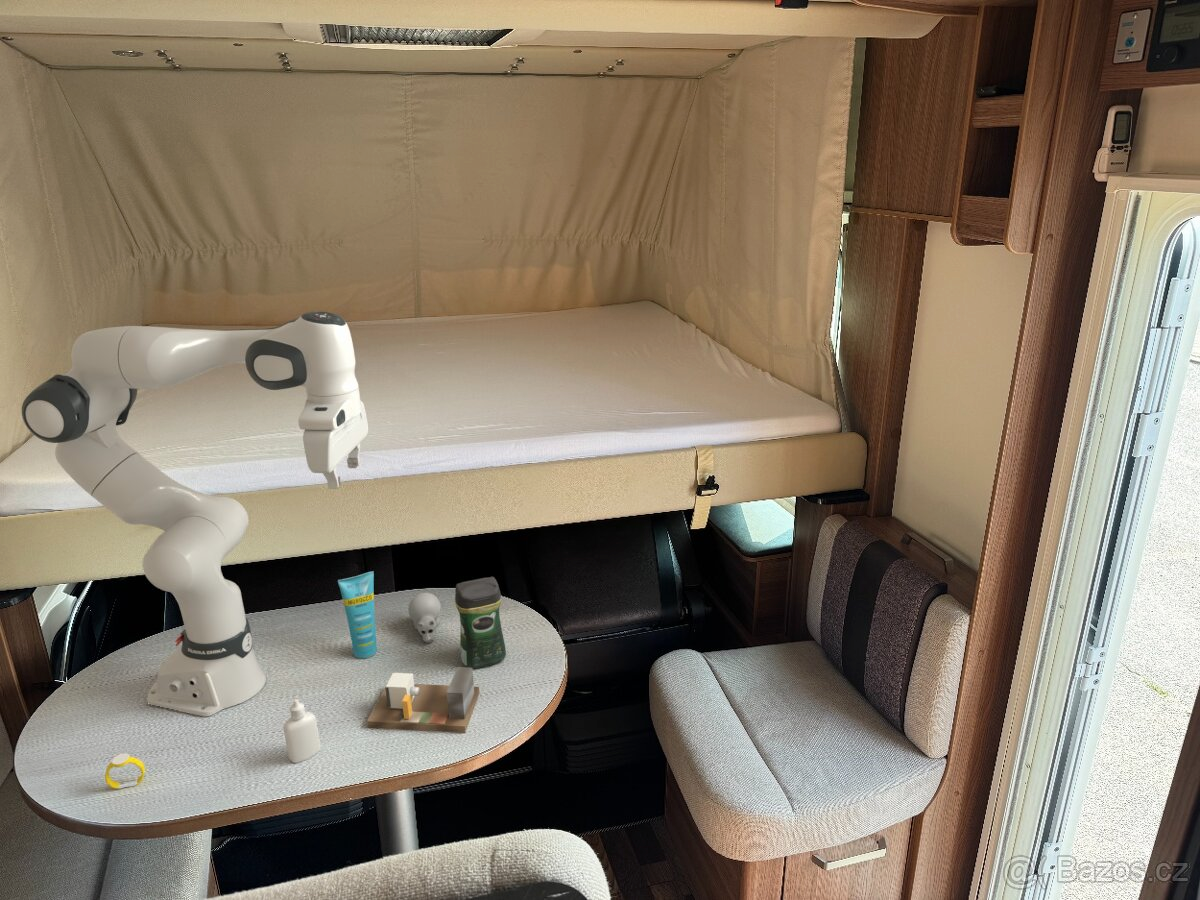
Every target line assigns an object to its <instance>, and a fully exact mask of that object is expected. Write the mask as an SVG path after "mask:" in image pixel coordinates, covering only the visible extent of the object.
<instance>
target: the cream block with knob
mask: <svg viewBox="0 0 1200 900" xmlns="http://www.w3.org/2000/svg"><path fill="white" fill-rule="evenodd" d="M414 679H415V678H414V673H407V672H392V674H391V676H390V678H389V680H388V682H387V683H388V684H387V683H386V685H385V686H386V687H385V686H384V688H385V689H386V697H387V705H388V707H389V708H399V709H402V711H401V713H400V715H399V719H403V716H404V713H403V705H402V700H403V698H404V696H405V695H410V696H411V703H412V701H413V699H414V697H415V696H418V695H419V692H420V689H419V687H414V684H415V680H414Z"/></svg>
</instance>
